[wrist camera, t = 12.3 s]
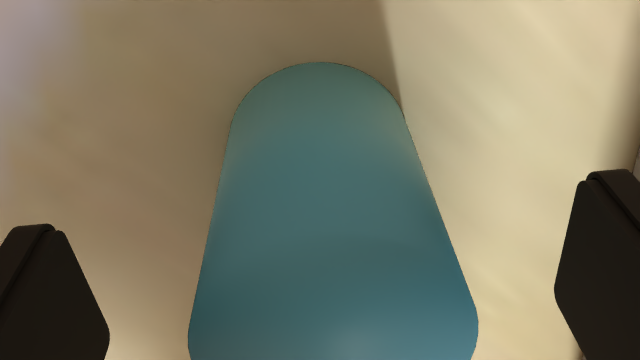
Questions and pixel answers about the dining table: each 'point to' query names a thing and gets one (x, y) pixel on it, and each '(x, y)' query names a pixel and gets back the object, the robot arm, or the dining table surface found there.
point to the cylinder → (327, 233)
